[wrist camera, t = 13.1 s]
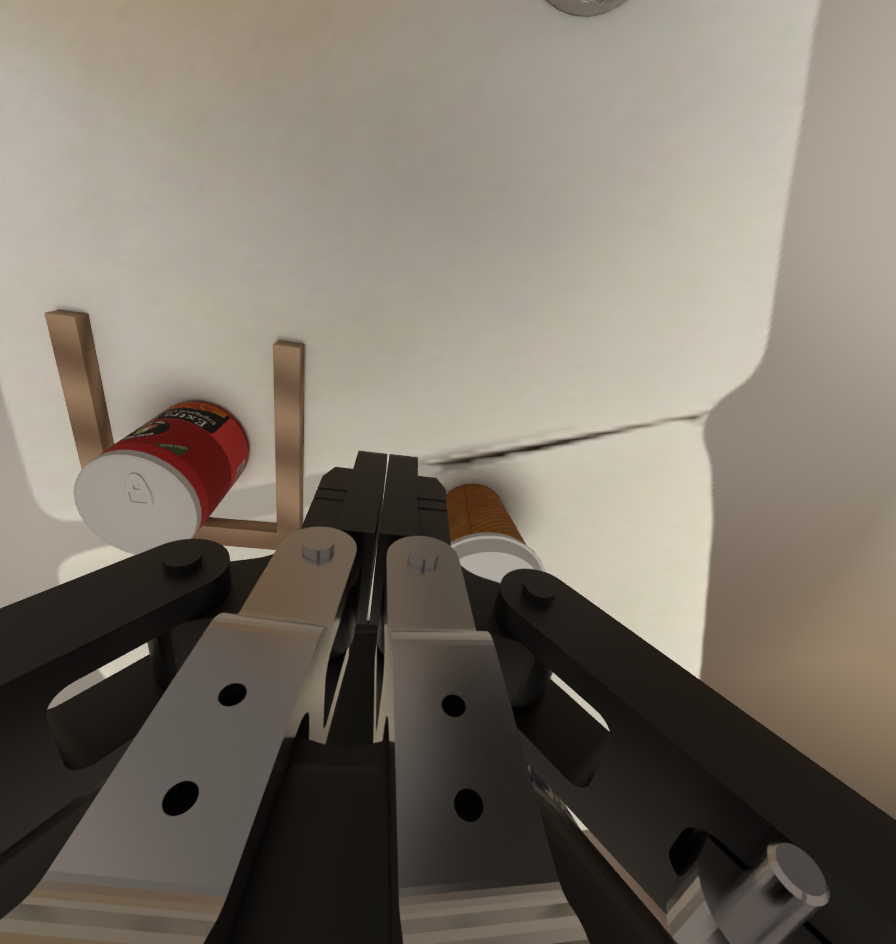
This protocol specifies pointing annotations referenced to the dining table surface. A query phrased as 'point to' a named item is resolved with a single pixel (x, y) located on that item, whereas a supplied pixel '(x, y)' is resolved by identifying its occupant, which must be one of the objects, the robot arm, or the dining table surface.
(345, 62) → the dining table surface
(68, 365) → the walnut bay
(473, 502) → the disposable coffee cup
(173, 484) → the canned food
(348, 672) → the portable speaker
